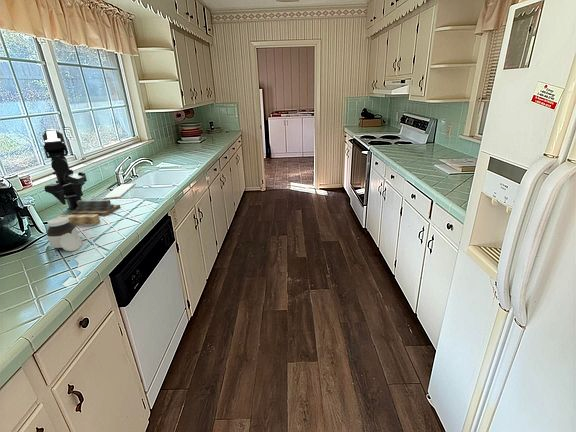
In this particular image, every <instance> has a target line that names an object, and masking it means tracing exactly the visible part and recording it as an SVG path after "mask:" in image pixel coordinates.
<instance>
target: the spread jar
mask: <svg viewBox="0 0 576 432" xmlns="http://www.w3.org/2000/svg"><path fill="white" fill-rule="evenodd" d="M47 224H48V228H47V230H46V237H47V241H48V243H49V245H50V247H51V248H52V249H54V250H57V251H67V252H73V251H76V250H78V249H80V247H81V244H82V240H81V237H80V234H79V231H78V229H77V226H76V225H74V224H73V223H71V222H69V219H68V217H59V218H55V217H54V218H52V219H50V220H48V221H47Z"/></svg>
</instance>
